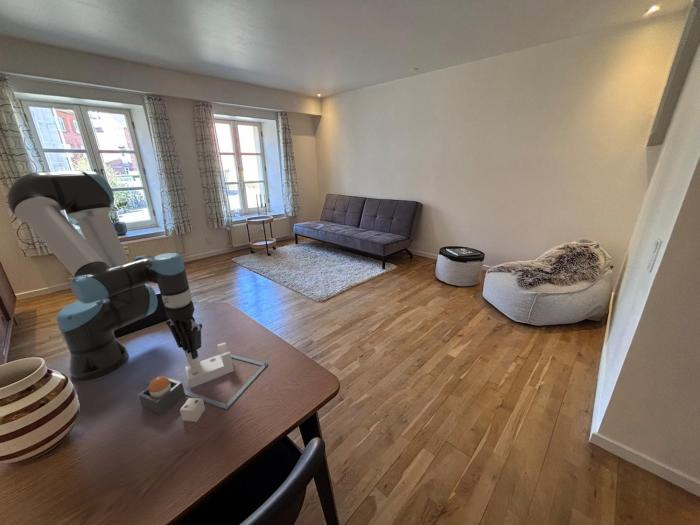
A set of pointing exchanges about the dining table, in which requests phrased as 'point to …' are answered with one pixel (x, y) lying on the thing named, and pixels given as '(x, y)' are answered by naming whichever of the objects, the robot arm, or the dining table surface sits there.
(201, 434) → the dining table surface
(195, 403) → the die
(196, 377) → the bracket
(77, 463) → the dining table surface
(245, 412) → the dining table surface
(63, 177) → the robot arm
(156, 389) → the orange and white capsule
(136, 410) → the dining table surface
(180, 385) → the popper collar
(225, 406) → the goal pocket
